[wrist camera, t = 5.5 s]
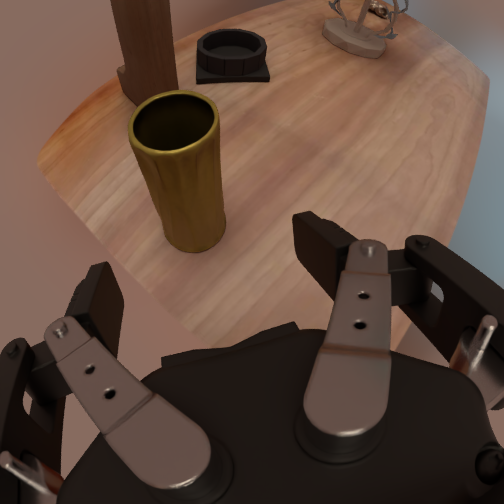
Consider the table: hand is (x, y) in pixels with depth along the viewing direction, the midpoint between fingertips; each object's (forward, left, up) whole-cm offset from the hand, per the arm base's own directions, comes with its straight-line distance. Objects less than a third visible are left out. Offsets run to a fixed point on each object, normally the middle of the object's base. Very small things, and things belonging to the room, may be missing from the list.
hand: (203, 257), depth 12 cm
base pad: (+4, +34, -14) cm, 37 cm away
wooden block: (-7, +27, -15) cm, 32 cm away
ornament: (+45, +69, -15) cm, 84 cm away
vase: (-1, +8, -15) cm, 17 cm away
